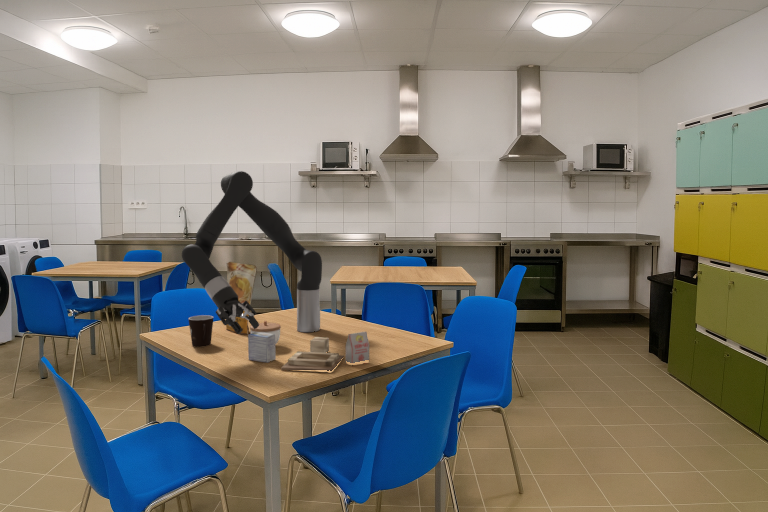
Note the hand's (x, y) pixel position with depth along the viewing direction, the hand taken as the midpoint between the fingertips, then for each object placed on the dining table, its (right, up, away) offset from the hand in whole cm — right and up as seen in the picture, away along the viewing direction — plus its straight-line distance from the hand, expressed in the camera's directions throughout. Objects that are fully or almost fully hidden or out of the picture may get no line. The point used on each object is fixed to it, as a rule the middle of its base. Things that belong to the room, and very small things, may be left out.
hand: (249, 329), depth 163 cm
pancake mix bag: (-15, -7, +40) cm, 43 cm away
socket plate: (+22, -10, -5) cm, 25 cm away
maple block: (+22, -9, +8) cm, 25 cm away
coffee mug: (-22, -8, +16) cm, 28 cm away
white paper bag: (+36, -11, -4) cm, 38 cm away
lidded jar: (+2, -9, +15) cm, 18 cm away
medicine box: (+5, -10, -1) cm, 11 cm away
